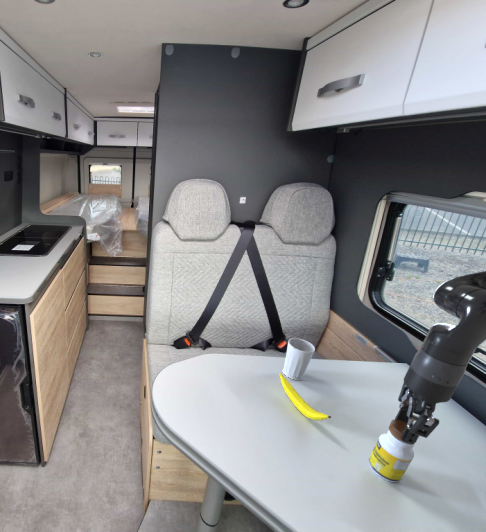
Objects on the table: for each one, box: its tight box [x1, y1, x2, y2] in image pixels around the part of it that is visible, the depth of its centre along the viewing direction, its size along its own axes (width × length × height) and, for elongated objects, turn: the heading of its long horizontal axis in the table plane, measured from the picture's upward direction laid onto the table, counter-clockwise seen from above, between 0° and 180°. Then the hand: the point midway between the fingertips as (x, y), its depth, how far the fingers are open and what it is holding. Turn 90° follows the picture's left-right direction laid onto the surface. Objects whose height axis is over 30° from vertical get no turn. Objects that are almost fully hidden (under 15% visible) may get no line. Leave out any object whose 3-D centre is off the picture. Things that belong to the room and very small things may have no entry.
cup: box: [282, 337, 316, 381], centre depth 104 cm, size 8×8×12 cm
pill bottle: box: [368, 430, 416, 483], centre depth 73 cm, size 6×6×12 cm
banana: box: [279, 372, 332, 421], centre depth 91 cm, size 3×19×6 cm, turn 15°
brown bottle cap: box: [388, 418, 420, 444], centre depth 70 cm, size 5×5×2 cm
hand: (403, 432), depth 70 cm, fingers closed on brown bottle cap, 5 cm apart
